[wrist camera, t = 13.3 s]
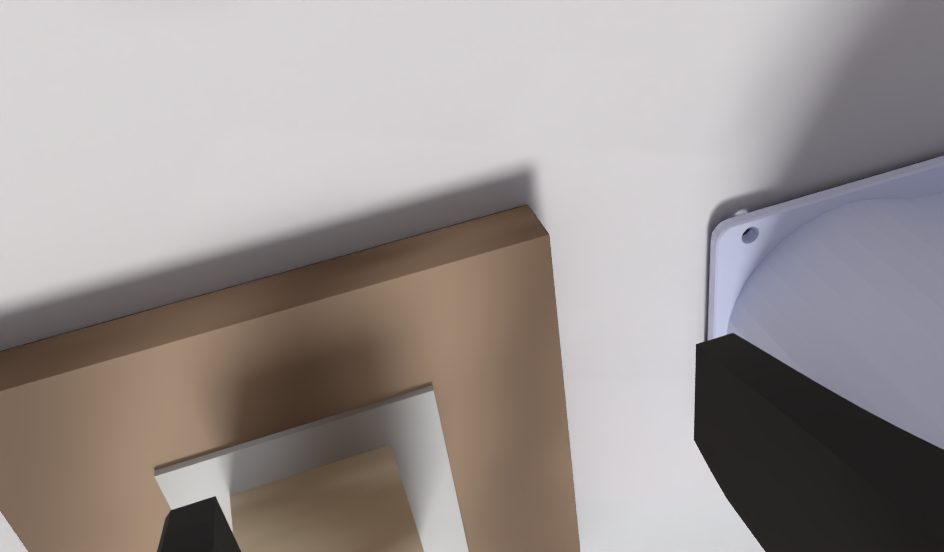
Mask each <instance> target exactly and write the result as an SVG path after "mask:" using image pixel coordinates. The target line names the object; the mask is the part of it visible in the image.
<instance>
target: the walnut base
mask: <svg viewBox="0 0 944 552" xmlns="http://www.w3.org/2000/svg"><path fill="white" fill-rule="evenodd" d="M390 444H391V448H392V451H393V454H394V457H395V460H396V464H397V467H398V470H399V473H400V476H401V479H402V483H403V486H404V489H405V492H406V495H407V499H408V502H409V505H410V508H411V511H412V514H413V518H414V521H415V524H416V527H417V530H418V534H419V537H420V540H421V543H422V546H423V549H424V552H580V544H579V534H578V524H577V514H576V503H575V493H574V483H573V473H572V462H571V452H570V442H569V431H568V421H567V411H566V401H565V390H564V380H563V370H562V360H561V349H560V339H559V329H558V319H557V308H556V298H555V288H554V278H553V267H552V257H551V247H550V237H549V233H548V232H547V231H546V229H545V228H544V227H543V225H542V224H541V222H540V221H539V220H538V218H537V217H536V215H535V214H534V213H533V211H532V210H531V208H530V207H529V206H528V205H525V206H522V207H518V208H515V209H511V210H507V211H504V212H500V213H497V214H493V215H489V216H486V217H482V218H479V219H475V220H471V221H468V222H464V223H461V224H457V225H453V226H450V227H446V228H443V229H439V230H435V231H432V232H428V233H425V234H421V235H418V236H414V237H410V238H407V239H403V240H400V241H396V242H392V243H389V244H385V245H382V246H378V247H374V248H371V249H367V250H364V251H360V252H356V253H353V254H349V255H346V256H342V257H338V258H335V259H331V260H328V261H324V262H321V263H317V264H313V265H310V266H306V267H303V268H299V269H295V270H292V271H288V272H285V273H281V274H277V275H274V276H270V277H267V278H263V279H259V280H256V281H252V282H249V283H245V284H241V285H238V286H234V287H231V288H227V289H223V290H220V291H216V292H213V293H209V294H206V295H202V296H198V297H195V298H191V299H188V300H184V301H180V302H177V303H173V304H170V305H166V306H162V307H159V308H155V309H152V310H148V311H144V312H141V313H137V314H134V315H130V316H126V317H123V318H119V319H116V320H112V321H109V322H105V323H101V324H98V325H94V326H91V327H87V328H83V329H80V330H76V331H73V332H69V333H65V334H62V335H58V336H55V337H51V338H47V339H44V340H40V341H37V342H33V343H29V344H26V345H22V346H19V347H15V348H12V349H8V350H4V351H1V352H0V511H1V513H2V514H3V516H4V517H5V518H6V520H7V521H8V523H9V524H10V526H11V527H12V529H13V530H14V532H15V533H16V534H17V536H18V537H19V539H20V540H21V542H22V543H23V545H24V546H25V547H26V549H27V550H28V552H157V549H158V546H159V542H160V538H161V534H162V530H163V526H164V522H165V518H166V517H167V515H168V514H169V512H170V511H171V510H173V509H176V508H179V507H183V506H186V505H189V504H192V503H195V502H198V501H202V500H205V499H208V498H211V497H214V496H216V498H217V500H218V502H219V505H220V507H221V509H222V511H223V513H224V515H225V518H226V520H227V522H228V524H229V526H230V528H231V531H232V533H233V527H232V517H231V506H230V495H233V494H236V493H240V492H243V491H246V490H249V489H252V488H255V487H258V486H262V485H265V484H268V483H271V482H274V481H277V480H280V479H284V478H287V477H290V476H293V475H296V474H299V473H302V472H306V471H309V470H312V469H315V468H318V467H321V466H324V465H327V464H331V463H334V462H337V461H340V460H343V459H346V458H349V457H353V456H356V455H359V454H362V453H365V452H368V451H371V450H375V449H378V448H381V447H384V446H387V445H390Z"/></svg>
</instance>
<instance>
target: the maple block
mask: <svg viewBox="0 0 944 552" xmlns="http://www.w3.org/2000/svg"><path fill="white" fill-rule="evenodd" d="M230 506H231V517H232V527H233V535H234V537H235V539H236V541H237V544H238V546H239V548H240V550H241V552H424V549H423V546H422V543H421V540H420V537H419V534H418V530H417V527H416V524H415V521H414V518H413V514H412V511H411V508H410V505H409V502H408V499H407V495H406V492H405V489H404V486H403V483H402V479H401V476H400V473H399V470H398V467H397V464H396V460H395V457H394V454H393V451H392V448H391V444H390V445H387V446H384V447H381V448H378V449H375V450H371V451H368V452H365V453H362V454H359V455H356V456H353V457H349V458H346V459H343V460H340V461H337V462H334V463H331V464H327V465H324V466H321V467H318V468H315V469H312V470H309V471H306V472H302V473H299V474H296V475H293V476H290V477H287V478H284V479H280V480H277V481H274V482H271V483H268V484H265V485H262V486H258V487H255V488H252V489H249V490H246V491H243V492H240V493H236V494H233V495H230Z"/></svg>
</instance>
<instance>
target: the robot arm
mask: <svg viewBox="0 0 944 552" xmlns="http://www.w3.org/2000/svg"><path fill="white" fill-rule="evenodd" d="M750 227H751V228H750ZM748 228H750V231H749V232H748V233H747V234H745V235H744V236H742V235H743V233H744V232H745V231H746V230H747V229H748ZM694 441H695V442H696V444H697V446H698V448H699V450H700V452H701V454H702V455H703V457H704V459H705V461H706V463H707V465H708V466H709V468H710V470H711V472H712V474H713V475H714V477H715V479H716V481H717V482H718V484H719V486H720V488H721V489H722V491H723V493H724V495H725V496H726V498H727V499H728V501H729V502H730V503H731V505H732V506H733V508H734V509H735V511H736V512H737V513H738V515H739V516H740V517H741V519H742V520H743V522H744V523H745V524H746V526H747V527H748V528H749V530H750V531H751V532H752V534H753V535H754V537H755V538H756V539H757V541H758V542H759V543H760V545H761V546H762V547H763V549H764V550H765V551H766V552H944V156H940V157H937V158H934V159H930V160H927V161H923V162H920V163H917V164H913V165H910V166H906V167H903V168H899V169H896V170H893V171H889V172H886V173H882V174H879V175H875V176H872V177H869V178H865V179H862V180H858V181H855V182H852V183H848V184H845V185H841V186H838V187H834V188H831V189H828V190H824V191H821V192H817V193H814V194H810V195H807V196H804V197H800V198H797V199H793V200H790V201H787V202H783V203H780V204H776V205H773V206H769V207H766V208H763V209H759V210H756V211H752V212H749V213H745V214H742V215H739V216H735V217H732V218H728V219H726V220H724V221H722V222H721V223H719V224H718V225H717V226H716V227H715V229H714V231H713V232H712V236H711V248H710V279H709V310H708V341H705V342H702V343H699V344H696V373H695V418H694ZM157 552H241V550H240V548H239V546H238V544H237V541H236V539H235V537H234V535H233V533H232V531H231V528H230V526H229V524H228V522H227V520H226V518H225V515H224V513H223V511H222V509H221V507H220V505H219V502H218V500H217V498H216V496H214V497H211V498H208V499H205V500H202V501H198V502H195V503H192V504H189V505H186V506H183V507H179V508H176V509H173V510H171V511H170V512H169V514H168V515H167V517H166V518H165V522H164V526H163V530H162V534H161V538H160V542H159V546H158V549H157Z"/></svg>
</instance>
